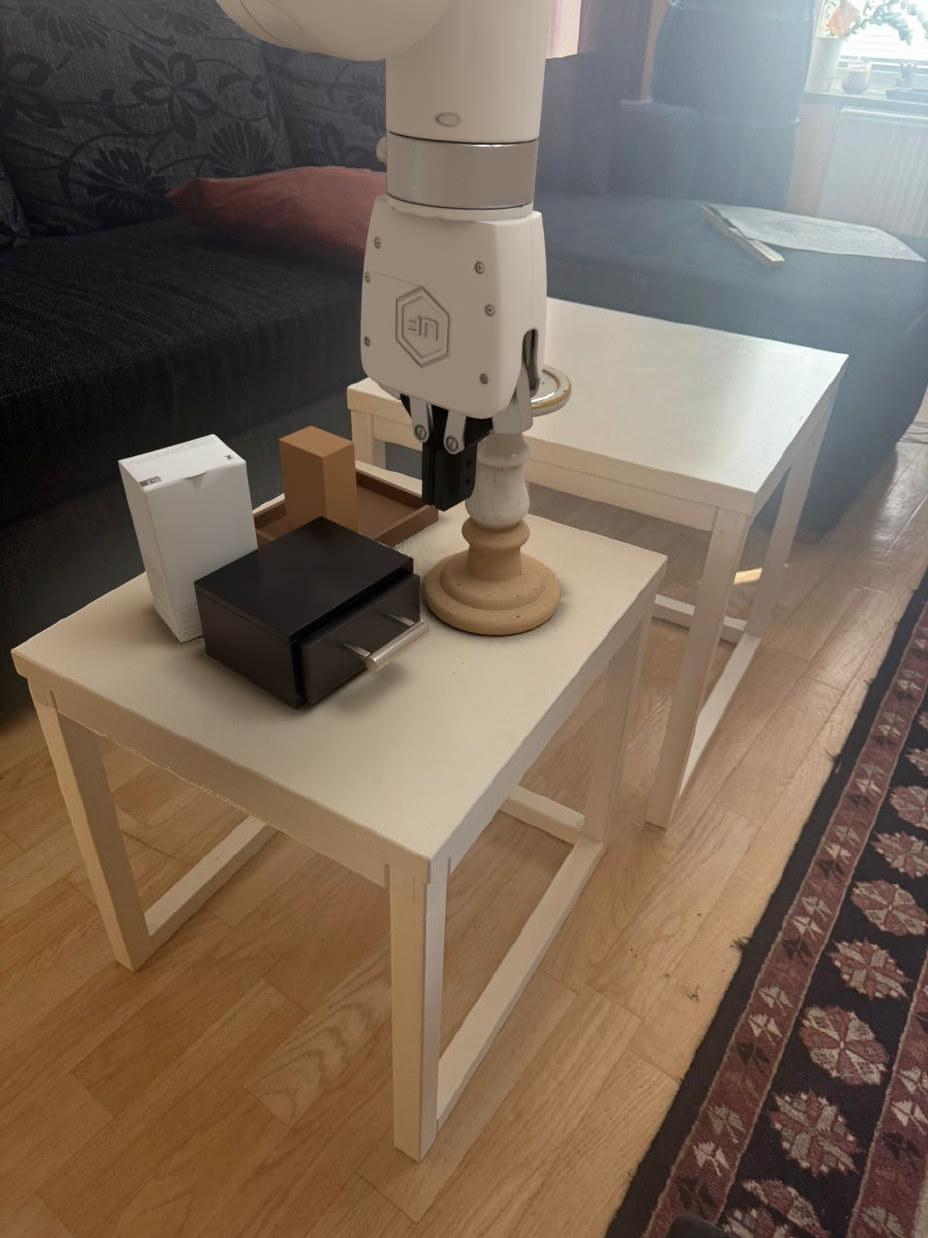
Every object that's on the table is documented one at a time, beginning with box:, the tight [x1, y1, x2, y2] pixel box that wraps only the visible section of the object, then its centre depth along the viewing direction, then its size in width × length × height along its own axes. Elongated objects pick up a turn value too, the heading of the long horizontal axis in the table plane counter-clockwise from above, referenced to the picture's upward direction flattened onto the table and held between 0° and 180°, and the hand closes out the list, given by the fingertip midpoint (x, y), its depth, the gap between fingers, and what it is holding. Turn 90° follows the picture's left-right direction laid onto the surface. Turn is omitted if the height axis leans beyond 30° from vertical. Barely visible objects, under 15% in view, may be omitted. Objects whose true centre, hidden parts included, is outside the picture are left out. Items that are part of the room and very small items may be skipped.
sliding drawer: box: [296, 571, 431, 704], centre depth 69 cm, size 13×12×5 cm
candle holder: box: [423, 363, 573, 636], centre depth 73 cm, size 12×12×20 cm
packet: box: [278, 425, 359, 533], centre depth 80 cm, size 4×6×11 cm
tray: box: [253, 467, 440, 548], centre depth 86 cm, size 16×12×2 cm
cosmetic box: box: [117, 433, 258, 644], centre depth 71 cm, size 8×6×15 cm
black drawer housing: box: [194, 516, 415, 711], centre depth 70 cm, size 11×14×7 cm
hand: (447, 499), depth 54 cm, fingers closed
